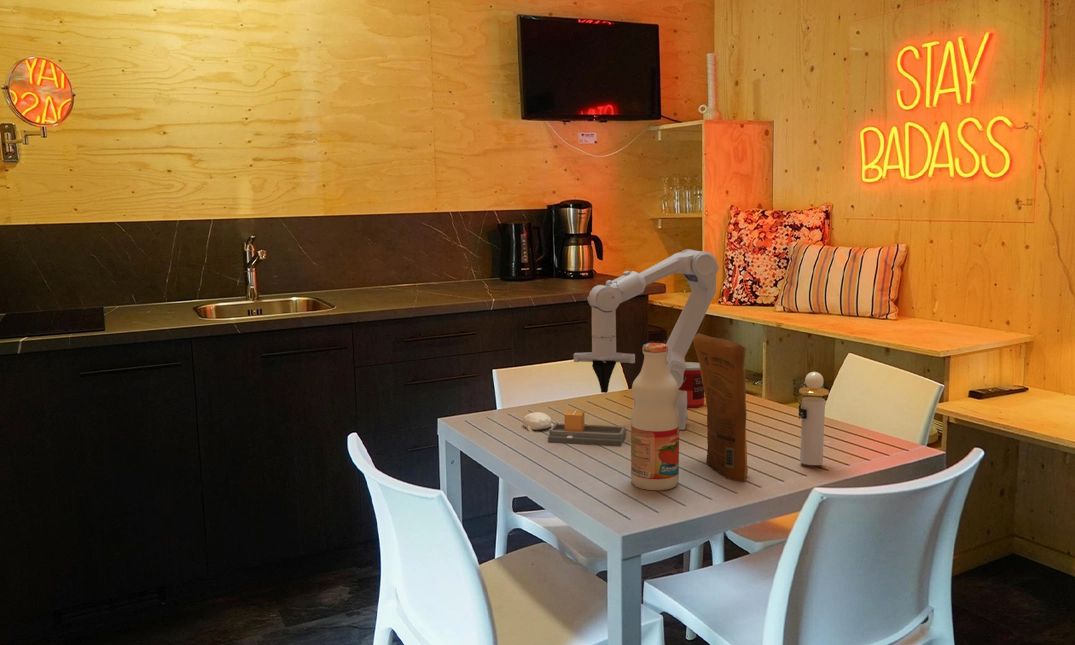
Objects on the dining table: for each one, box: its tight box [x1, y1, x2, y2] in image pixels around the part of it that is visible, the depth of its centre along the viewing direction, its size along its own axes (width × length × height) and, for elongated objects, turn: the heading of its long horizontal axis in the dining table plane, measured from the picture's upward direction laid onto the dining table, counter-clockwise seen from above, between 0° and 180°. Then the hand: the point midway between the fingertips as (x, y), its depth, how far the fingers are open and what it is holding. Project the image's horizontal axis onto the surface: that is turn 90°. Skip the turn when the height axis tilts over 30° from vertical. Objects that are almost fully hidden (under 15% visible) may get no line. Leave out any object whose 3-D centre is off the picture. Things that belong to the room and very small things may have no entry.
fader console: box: [547, 421, 628, 447], centre depth 198 cm, size 17×10×2 cm, turn 76°
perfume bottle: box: [798, 371, 830, 466], centre depth 175 cm, size 6×6×20 cm
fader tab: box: [563, 409, 585, 432], centre depth 199 cm, size 4×4×4 cm
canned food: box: [679, 361, 705, 409], centre depth 226 cm, size 8×8×11 cm
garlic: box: [522, 411, 554, 432], centre depth 208 cm, size 8×7×4 cm
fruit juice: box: [630, 342, 680, 491], centre depth 165 cm, size 9×9×28 cm
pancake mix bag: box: [693, 332, 749, 482], centre depth 173 cm, size 7×19×28 cm, turn 13°
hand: (604, 391), depth 202 cm, fingers closed
